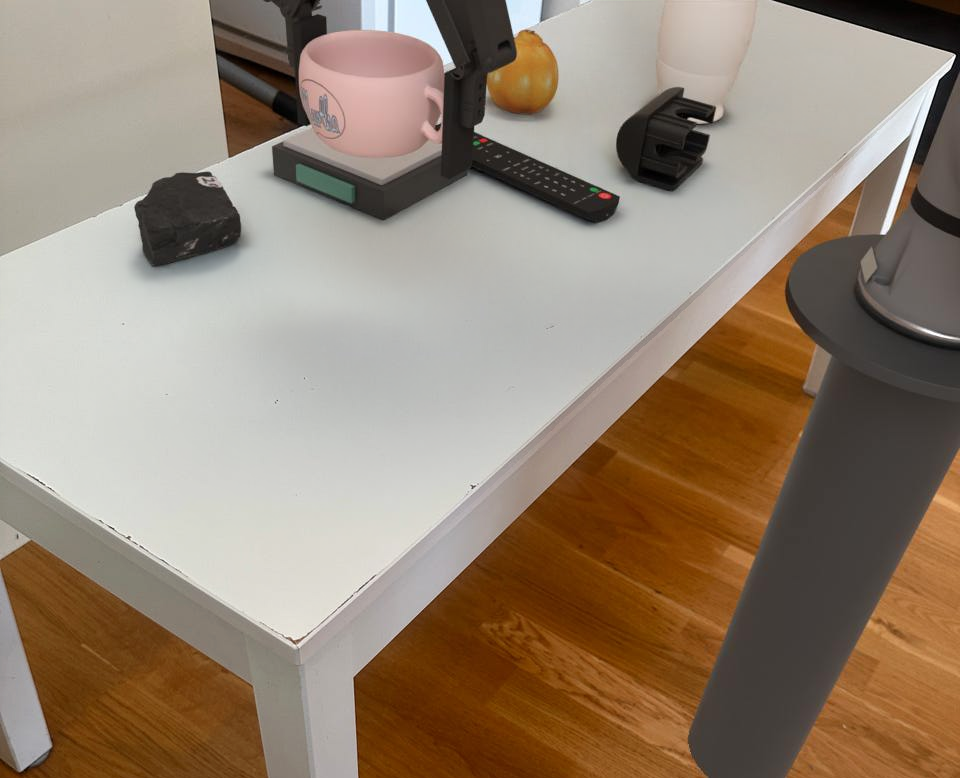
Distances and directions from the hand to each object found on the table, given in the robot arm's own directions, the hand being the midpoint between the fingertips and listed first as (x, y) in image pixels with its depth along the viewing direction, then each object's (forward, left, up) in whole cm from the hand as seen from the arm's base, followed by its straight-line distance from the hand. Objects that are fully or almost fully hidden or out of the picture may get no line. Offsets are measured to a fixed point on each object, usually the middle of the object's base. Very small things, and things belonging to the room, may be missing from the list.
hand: (383, 145), depth 72 cm
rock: (+22, 0, -16) cm, 27 cm away
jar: (+4, -63, -16) cm, 65 cm away
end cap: (-1, -46, -16) cm, 49 cm away
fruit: (+19, -49, -16) cm, 55 cm away
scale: (+20, -23, -15) cm, 34 cm away
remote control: (+9, -33, -16) cm, 38 cm away
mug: (0, 0, 0) cm, 0 cm away
